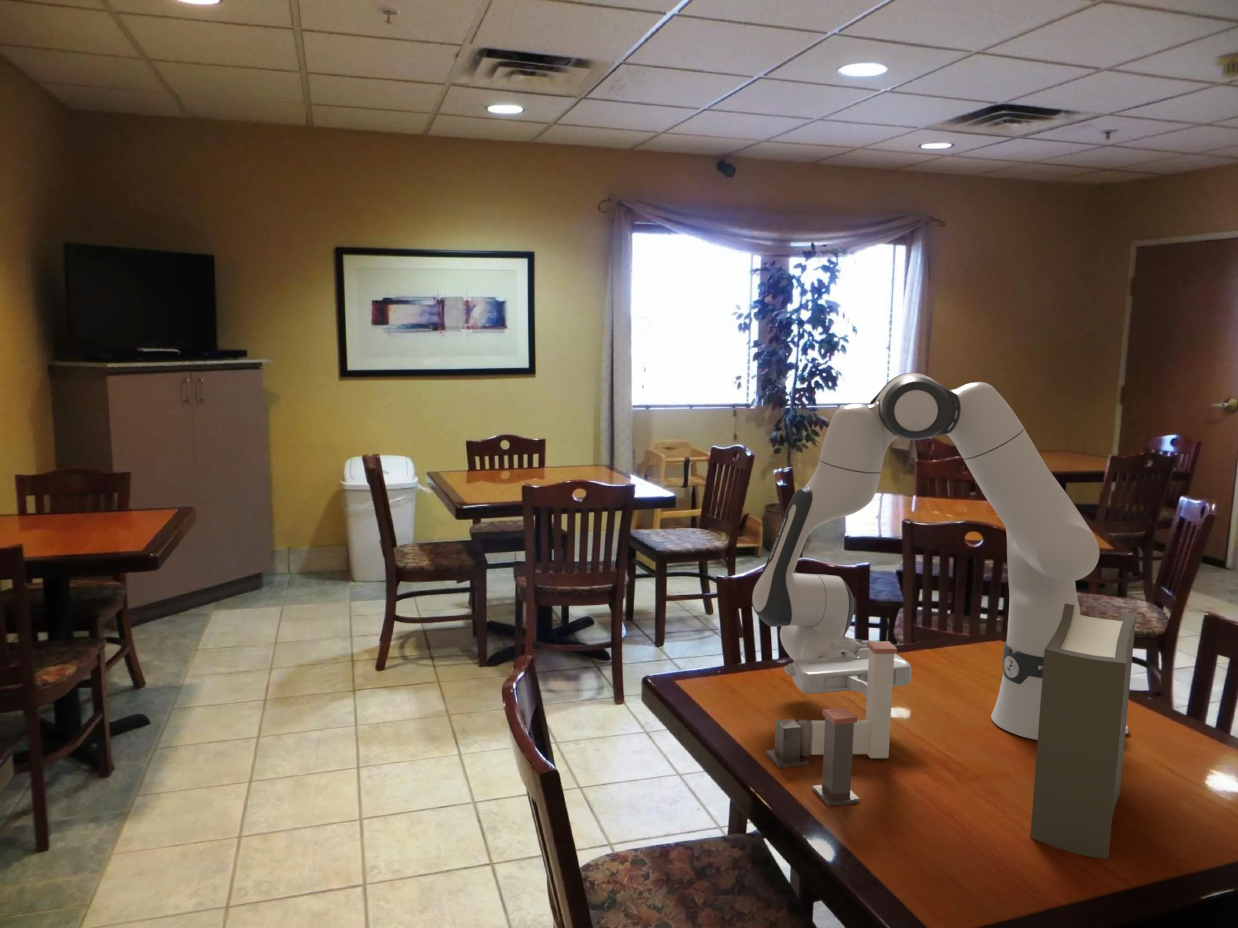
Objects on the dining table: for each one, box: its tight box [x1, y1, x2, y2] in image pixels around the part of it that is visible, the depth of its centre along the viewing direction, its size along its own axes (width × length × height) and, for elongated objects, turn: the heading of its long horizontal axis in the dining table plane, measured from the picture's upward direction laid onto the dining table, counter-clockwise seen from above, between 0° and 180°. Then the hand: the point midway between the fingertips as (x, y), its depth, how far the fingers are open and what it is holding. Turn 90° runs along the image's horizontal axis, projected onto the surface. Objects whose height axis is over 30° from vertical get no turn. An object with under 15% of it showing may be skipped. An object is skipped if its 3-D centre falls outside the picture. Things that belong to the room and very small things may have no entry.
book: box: [1029, 604, 1137, 860], centre depth 124 cm, size 22×9×28 cm, turn 147°
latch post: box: [812, 707, 861, 807], centre depth 130 cm, size 5×5×13 cm
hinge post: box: [765, 718, 809, 769], centre depth 142 cm, size 5×5×6 cm
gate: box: [797, 640, 898, 759], centre depth 142 cm, size 15×4×18 cm, turn 93°
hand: (874, 690), depth 144 cm, fingers closed
